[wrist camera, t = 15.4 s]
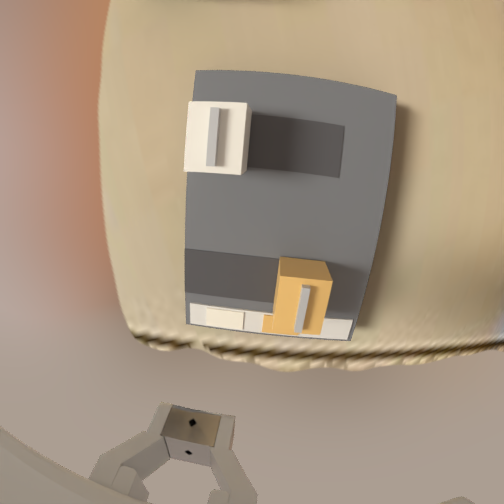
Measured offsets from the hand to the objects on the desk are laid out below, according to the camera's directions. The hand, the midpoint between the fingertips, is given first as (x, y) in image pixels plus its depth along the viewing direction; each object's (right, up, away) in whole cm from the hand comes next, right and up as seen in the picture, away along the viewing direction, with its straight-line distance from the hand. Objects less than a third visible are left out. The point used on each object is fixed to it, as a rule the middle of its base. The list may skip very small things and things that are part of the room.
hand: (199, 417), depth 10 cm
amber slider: (+6, +4, +16) cm, 17 cm away
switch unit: (+5, +10, +17) cm, 21 cm away
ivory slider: (0, +16, +12) cm, 20 cm away
